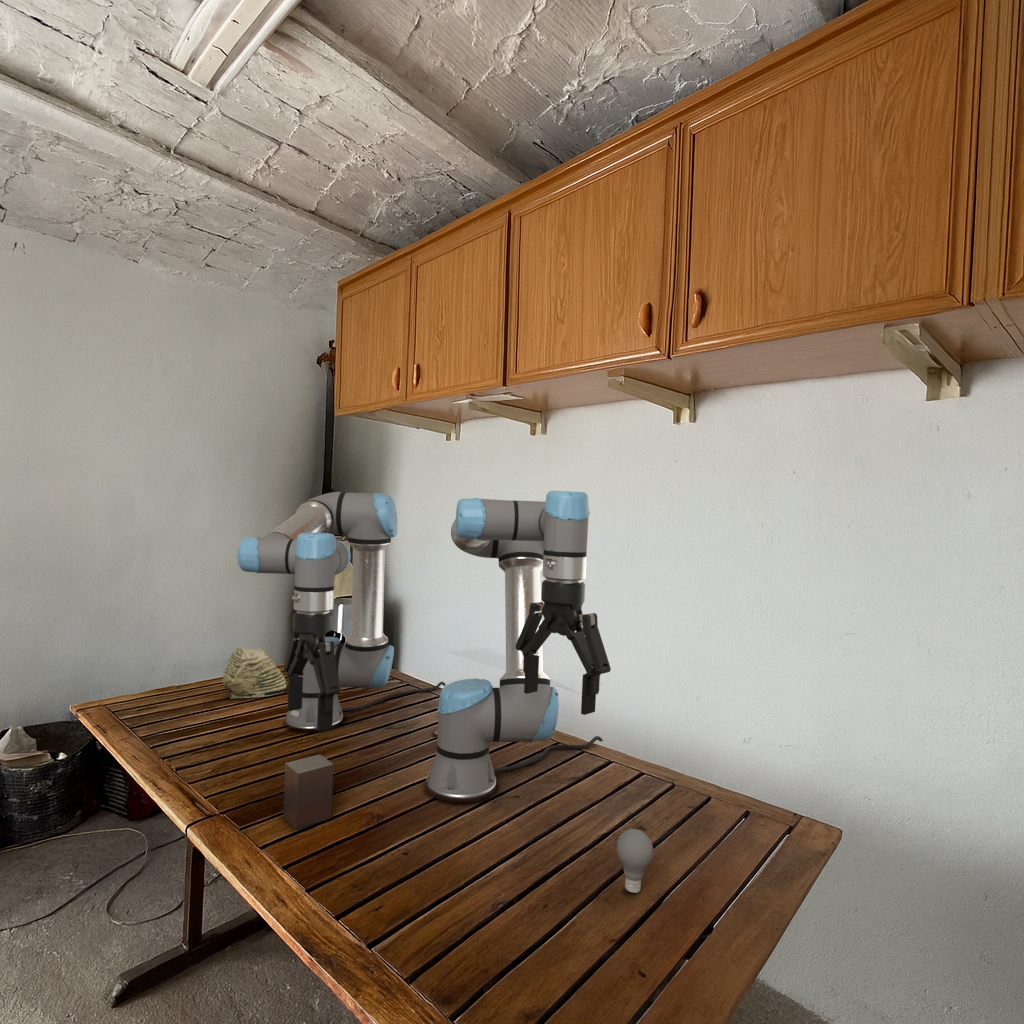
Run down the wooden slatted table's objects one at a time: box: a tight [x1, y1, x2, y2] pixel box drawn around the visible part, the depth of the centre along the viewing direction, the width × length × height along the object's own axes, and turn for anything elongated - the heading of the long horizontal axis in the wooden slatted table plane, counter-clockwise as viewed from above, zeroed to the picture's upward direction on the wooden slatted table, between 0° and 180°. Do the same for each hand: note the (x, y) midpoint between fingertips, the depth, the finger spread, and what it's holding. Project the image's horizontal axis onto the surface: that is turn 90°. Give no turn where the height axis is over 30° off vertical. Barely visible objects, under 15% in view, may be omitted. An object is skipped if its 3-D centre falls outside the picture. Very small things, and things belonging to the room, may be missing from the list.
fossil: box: [222, 646, 288, 699], centre depth 198 cm, size 9×18×15 cm, turn 132°
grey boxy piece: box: [282, 754, 334, 831], centre depth 125 cm, size 6×7×11 cm
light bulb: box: [615, 828, 654, 894], centre depth 106 cm, size 6×6×10 cm
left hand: (309, 719), depth 125 cm, fingers open, 13 cm apart
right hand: (558, 702), depth 110 cm, fingers open, 13 cm apart
